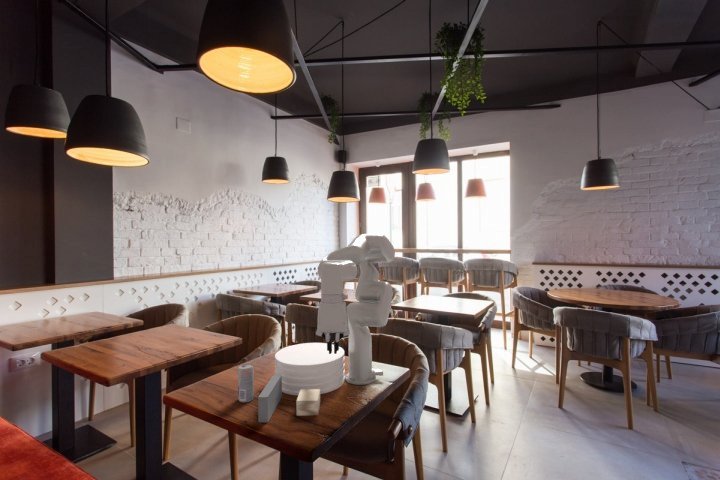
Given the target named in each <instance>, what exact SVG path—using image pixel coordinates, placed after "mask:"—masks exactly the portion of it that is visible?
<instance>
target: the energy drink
mask: <svg viewBox="0 0 720 480" xmlns="http://www.w3.org/2000/svg"><path fill="white" fill-rule="evenodd" d="M254 374H255V372H254V366H253V364H251V363H243V364H241V365H238V369H237V389H238V391H237V393H238V395H237V396H238V397H237V398H238V401H239V402H240V403H248V402H251V401H253V399H254V398H255V387H254V386H255V384H254V379H255V378H254V376H255V375H254Z"/></svg>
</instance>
